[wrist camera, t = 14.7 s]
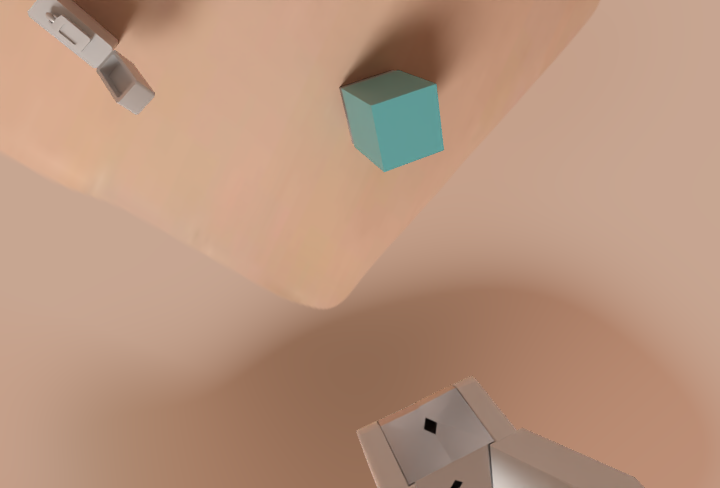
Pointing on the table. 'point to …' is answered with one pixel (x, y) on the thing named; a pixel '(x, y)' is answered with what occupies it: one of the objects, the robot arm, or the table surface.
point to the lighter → (94, 50)
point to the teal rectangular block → (394, 118)
